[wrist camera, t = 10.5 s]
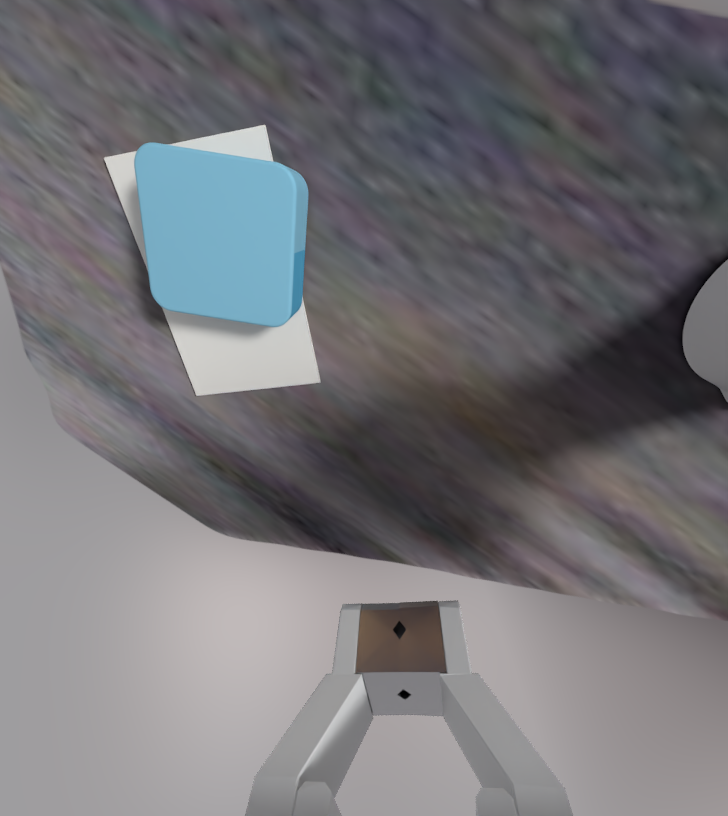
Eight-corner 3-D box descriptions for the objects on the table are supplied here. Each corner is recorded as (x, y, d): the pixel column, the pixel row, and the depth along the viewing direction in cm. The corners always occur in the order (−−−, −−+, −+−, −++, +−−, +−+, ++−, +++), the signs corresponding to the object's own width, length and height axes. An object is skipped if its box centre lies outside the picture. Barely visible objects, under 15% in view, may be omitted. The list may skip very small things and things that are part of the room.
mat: (265, 125, 29) (264, 124, 28) (320, 381, 39) (320, 382, 38) (106, 158, 30) (103, 157, 30) (197, 394, 40) (196, 395, 40)
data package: (310, 172, 30) (164, 148, 30) (297, 165, 26) (128, 138, 26) (301, 318, 35) (178, 298, 35) (289, 330, 31) (151, 308, 31)
